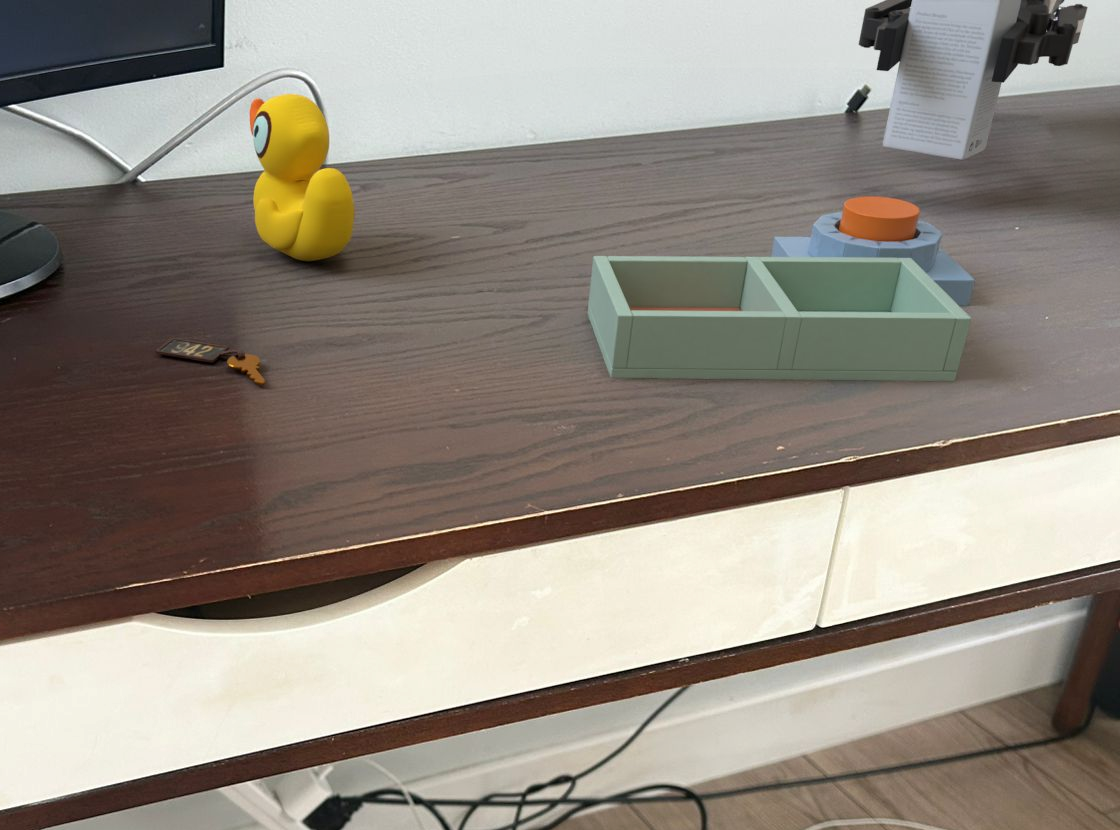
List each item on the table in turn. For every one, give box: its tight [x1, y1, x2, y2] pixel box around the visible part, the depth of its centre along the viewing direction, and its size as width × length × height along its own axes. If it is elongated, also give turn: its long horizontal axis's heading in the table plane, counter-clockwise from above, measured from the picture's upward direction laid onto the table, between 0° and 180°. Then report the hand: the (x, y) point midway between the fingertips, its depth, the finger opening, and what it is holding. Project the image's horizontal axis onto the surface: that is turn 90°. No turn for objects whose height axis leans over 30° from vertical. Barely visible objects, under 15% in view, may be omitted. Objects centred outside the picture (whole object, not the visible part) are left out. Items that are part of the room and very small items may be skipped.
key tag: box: [155, 337, 266, 386], centre depth 76 cm, size 8×3×1 cm, turn 53°
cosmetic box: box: [882, 0, 1021, 161], centre depth 95 cm, size 6×4×12 cm
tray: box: [587, 255, 972, 382], centre depth 77 cm, size 18×10×4 cm, turn 88°
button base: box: [770, 210, 976, 307], centre depth 85 cm, size 10×8×4 cm
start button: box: [839, 196, 921, 242], centre depth 84 cm, size 4×4×2 cm
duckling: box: [249, 93, 356, 262], centre depth 89 cm, size 11×5×10 cm, turn 29°
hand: (943, 54), depth 90 cm, fingers closed on cosmetic box, 7 cm apart
